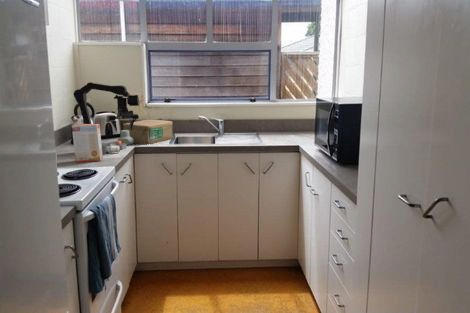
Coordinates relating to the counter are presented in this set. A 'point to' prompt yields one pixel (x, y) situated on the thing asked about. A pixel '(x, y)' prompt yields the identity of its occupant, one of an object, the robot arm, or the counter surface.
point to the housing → (104, 147)
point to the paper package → (150, 131)
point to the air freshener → (125, 138)
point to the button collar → (121, 146)
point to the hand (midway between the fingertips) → (123, 130)
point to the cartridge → (112, 149)
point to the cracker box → (87, 142)
